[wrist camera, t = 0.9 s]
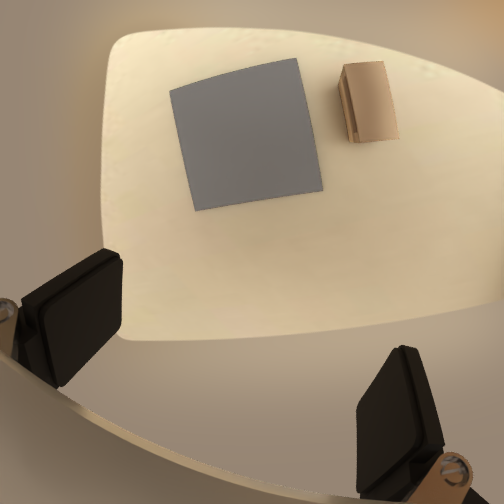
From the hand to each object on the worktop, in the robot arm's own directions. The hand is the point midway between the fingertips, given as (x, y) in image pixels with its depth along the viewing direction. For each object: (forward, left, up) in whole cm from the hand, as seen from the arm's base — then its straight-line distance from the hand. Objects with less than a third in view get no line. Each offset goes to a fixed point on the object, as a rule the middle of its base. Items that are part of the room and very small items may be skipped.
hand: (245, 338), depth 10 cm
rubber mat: (+5, -8, -24) cm, 26 cm away
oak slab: (-7, -8, -24) cm, 27 cm away
